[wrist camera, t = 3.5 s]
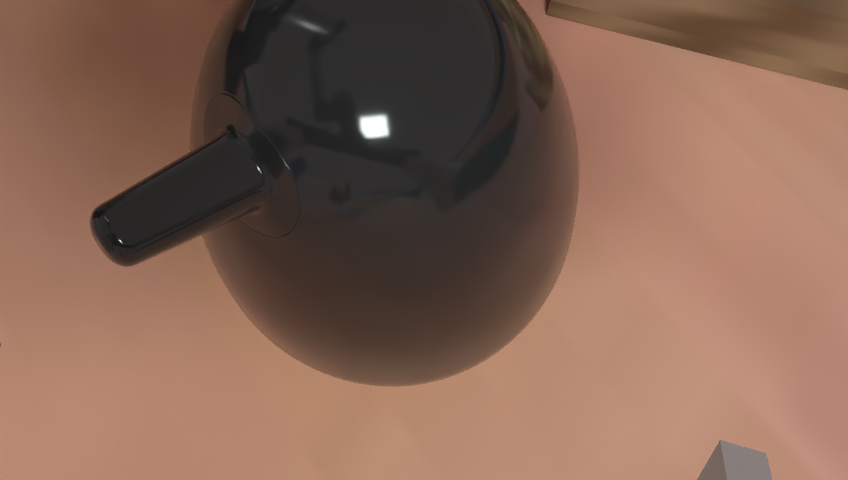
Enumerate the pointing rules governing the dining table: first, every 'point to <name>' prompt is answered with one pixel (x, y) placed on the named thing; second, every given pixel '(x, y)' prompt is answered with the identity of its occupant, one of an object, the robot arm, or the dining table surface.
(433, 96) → the pump dispenser
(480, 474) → the dining table surface
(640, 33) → the track
